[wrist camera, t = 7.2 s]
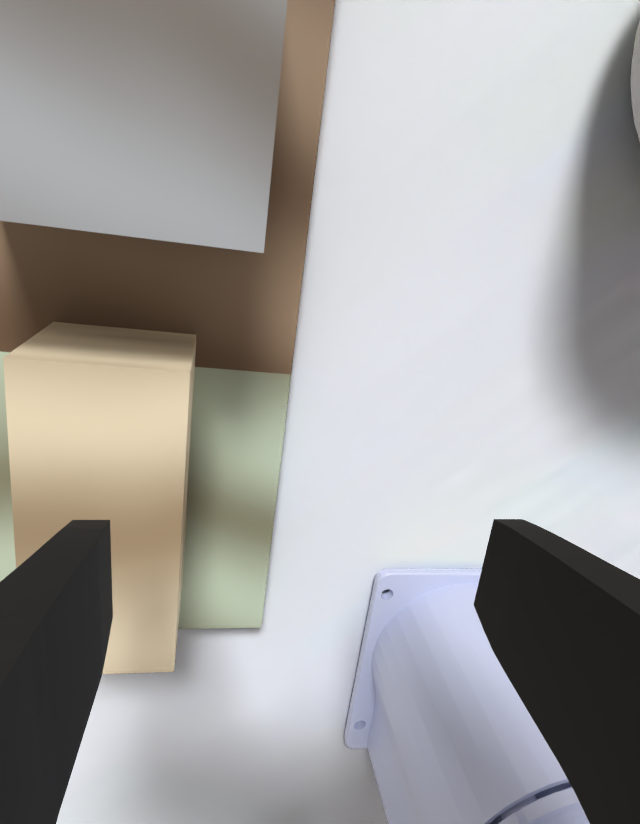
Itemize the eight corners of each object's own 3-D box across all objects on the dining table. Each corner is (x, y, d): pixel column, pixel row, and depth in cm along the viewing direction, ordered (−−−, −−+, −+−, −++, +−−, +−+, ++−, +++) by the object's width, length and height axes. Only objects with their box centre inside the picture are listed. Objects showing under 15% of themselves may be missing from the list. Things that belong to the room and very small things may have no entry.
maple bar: (182, 583, 19) (173, 672, 16) (61, 583, 19) (22, 676, 15) (196, 334, 17) (190, 371, 13) (53, 321, 16) (3, 357, 12)
